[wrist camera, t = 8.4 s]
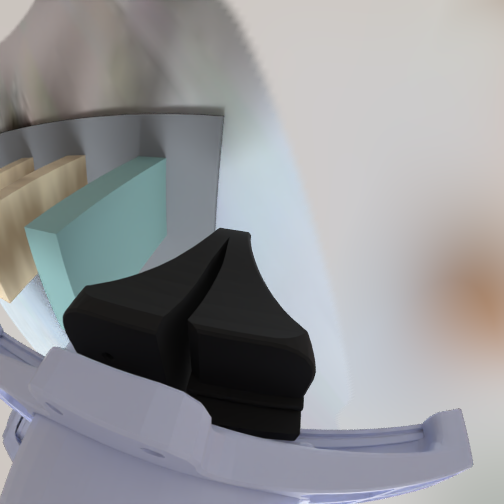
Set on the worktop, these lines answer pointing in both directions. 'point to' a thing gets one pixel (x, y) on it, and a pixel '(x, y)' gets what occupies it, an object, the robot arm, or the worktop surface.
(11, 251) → the domino
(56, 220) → the domino
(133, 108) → the worktop surface
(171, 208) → the felt mat
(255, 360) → the robot arm
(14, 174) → the domino
